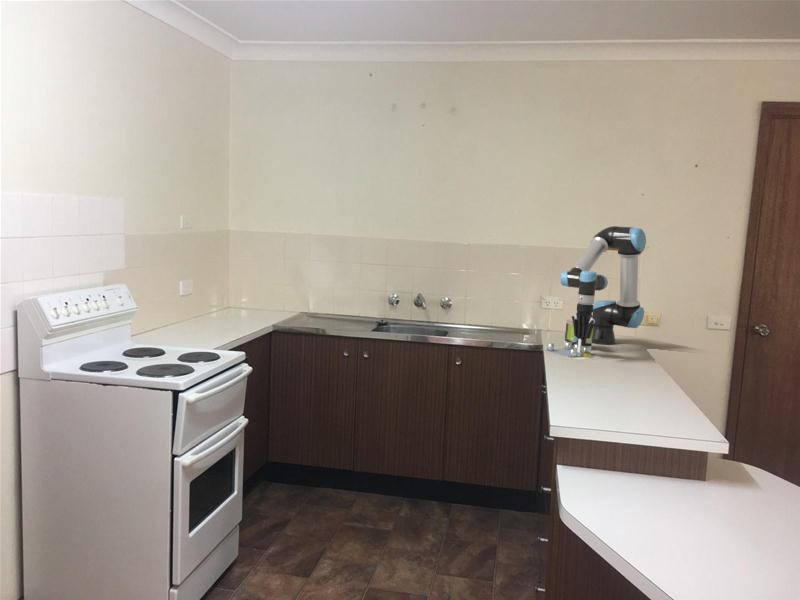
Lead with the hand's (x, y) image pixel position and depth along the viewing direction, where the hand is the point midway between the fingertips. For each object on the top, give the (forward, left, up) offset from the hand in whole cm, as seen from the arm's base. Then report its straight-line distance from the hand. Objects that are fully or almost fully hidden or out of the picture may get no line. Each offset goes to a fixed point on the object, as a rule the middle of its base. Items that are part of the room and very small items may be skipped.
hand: (580, 352), depth 319 cm
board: (0, -4, -3) cm, 5 cm away
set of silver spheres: (0, -6, -2) cm, 7 cm away
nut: (0, +3, -2) cm, 4 cm away
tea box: (-17, -15, -3) cm, 23 cm away
